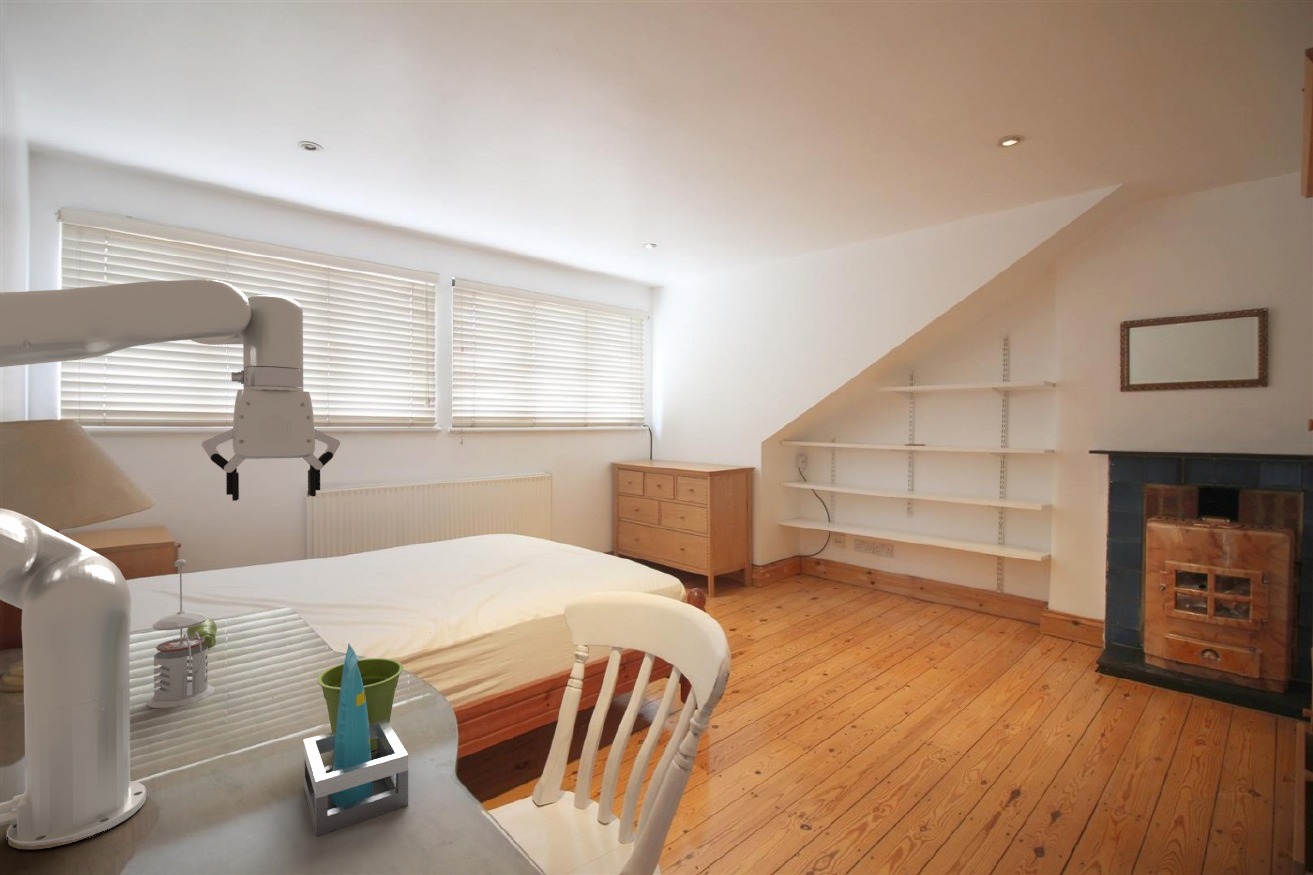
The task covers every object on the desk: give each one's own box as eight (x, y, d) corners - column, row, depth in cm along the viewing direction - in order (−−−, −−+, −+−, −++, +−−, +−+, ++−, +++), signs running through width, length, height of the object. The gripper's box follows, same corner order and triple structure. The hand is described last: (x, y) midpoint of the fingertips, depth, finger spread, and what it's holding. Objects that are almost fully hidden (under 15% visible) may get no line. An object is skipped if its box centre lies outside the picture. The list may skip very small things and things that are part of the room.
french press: (202, 681, 119) (201, 552, 119) (228, 695, 112) (227, 558, 112) (138, 699, 111) (137, 560, 111) (162, 715, 104) (161, 568, 104)
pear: (215, 612, 146) (220, 629, 138) (214, 633, 146) (219, 651, 139) (185, 616, 142) (189, 634, 135) (185, 638, 143) (188, 657, 135)
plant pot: (308, 771, 87) (307, 691, 87) (328, 732, 98) (328, 661, 98) (398, 759, 90) (397, 682, 90) (408, 722, 101) (407, 654, 101)
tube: (380, 802, 79) (379, 654, 79) (338, 817, 76) (338, 663, 76) (364, 778, 85) (363, 639, 85) (325, 791, 82) (324, 647, 82)
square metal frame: (316, 836, 73) (316, 781, 73) (303, 787, 83) (303, 739, 83) (408, 805, 79) (408, 754, 79) (386, 763, 89) (386, 718, 89)
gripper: (200, 376, 83) (201, 504, 83) (343, 382, 93) (344, 496, 93) (201, 381, 89) (202, 499, 89) (335, 386, 99) (336, 492, 99)
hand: (274, 497), depth 91 cm, fingers open, 9 cm apart
